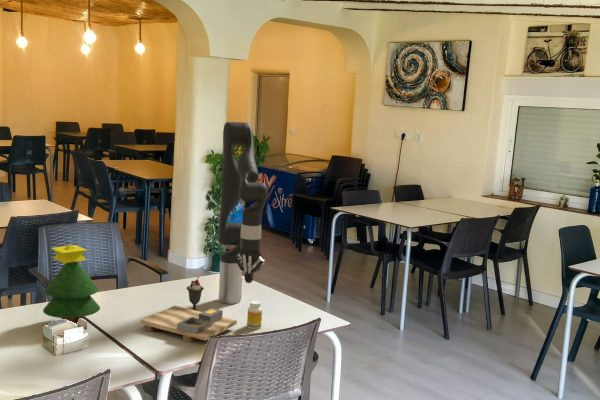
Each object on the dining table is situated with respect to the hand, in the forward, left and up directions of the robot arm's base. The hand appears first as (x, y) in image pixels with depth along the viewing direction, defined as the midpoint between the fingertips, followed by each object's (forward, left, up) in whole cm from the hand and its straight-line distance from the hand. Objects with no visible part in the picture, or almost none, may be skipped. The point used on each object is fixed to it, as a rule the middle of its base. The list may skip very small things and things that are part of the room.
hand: (248, 282), depth 236 cm
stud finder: (+10, -9, -13) cm, 19 cm away
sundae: (-2, -25, -17) cm, 30 cm away
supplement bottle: (-2, +2, -17) cm, 18 cm away
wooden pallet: (+14, -16, -17) cm, 27 cm away
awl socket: (+20, -10, -14) cm, 26 cm away
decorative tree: (+35, -52, -17) cm, 65 cm away
